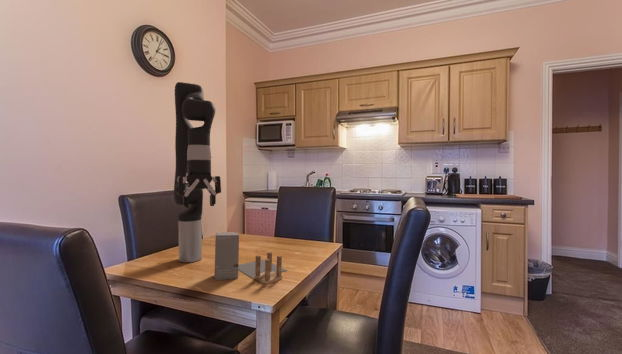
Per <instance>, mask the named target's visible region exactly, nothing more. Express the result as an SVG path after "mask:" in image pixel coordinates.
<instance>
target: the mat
mask: <svg viewBox="0 0 622 354" xmlns="http://www.w3.org/2000/svg"><path fill="white" fill-rule="evenodd" d="M265 260H266V259H261V262H260V273H263V272H265ZM255 266H256V260H254V261H250V262H244V263H240V264H238V272H241V273H243V274H244V275H245V276H248V277H249V278H251V279H253V280H255V279H254V275H255ZM287 271H288V270H287V269H285V268H283V267H281V273H284V272H287ZM272 272H275V273H276V272H277V264H275V263H272Z"/></svg>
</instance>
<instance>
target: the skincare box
mask: <svg viewBox="0 0 622 354" xmlns="http://www.w3.org/2000/svg"><path fill="white" fill-rule="evenodd" d="M239 233H240V232H238V231H237V232H235V231H233V232H232V231H231V232H230V231H228V232H227V231H226V232H215V240H214V241H215V242H214V243H215V244H214V245H215V246H214V247H215V249H214V250H215V252H214V281H216V282H217V281H224V280H233V279H236V280H237V279H239V270H238V265H239V258H240V256H239V255H240V254H239V253H240V234H239Z"/></svg>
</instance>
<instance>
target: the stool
mask: <svg viewBox="0 0 622 354" xmlns="http://www.w3.org/2000/svg"><path fill="white" fill-rule="evenodd" d="M272 259H273V252H271V251H268V252H266V259H264V260H265V272H263V273H260V262H261V260H262V259H261V255H260V254H259V255H255V261H256V266H255V275H254V279H253V280H255V281H258V282H260V283H262V284H264V285H269V284H272V283H274V282H278V281H279V280H283V275H282V272H281V268H283V267H282V262H283V260H282V259H283V256H282V255H280V254H279V255H277V256H276V265H277V272H276V273H275V272H272V264H273V260H272Z"/></svg>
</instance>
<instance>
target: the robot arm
mask: <svg viewBox="0 0 622 354" xmlns="http://www.w3.org/2000/svg"><path fill="white" fill-rule="evenodd" d="M204 96H205V95H204V90H203V88H202V86H201V85H199V84H197V83H196V84H195V83H188V82H183V81H182V82H181V81H178V82H176V83H175V87H174V105H175V108H174V109H175V136H174V138H175V139H174V140H175V144H174V147H175V148H174V149H175V151H174V152H175V170H174V171H175V172H174V185H173V199H174V202H175V203H176V205H178V206H183V207H184V208H185V209H186V210H184V211H182V212H180V213H179V214H178V215H177V216H178V217H177V219H178V221H177V222H178V223H177V224H178V262H181V263H193V262H198V261H201V260H202V258H203V257H202V256H203V255H202V254H203V251H202V250H203V248H202V247H203V245H202V244H203V241H202V240H203V238H202V237H203V236H202V230H203V229H202V215H203V201H204V191H203V190H206V191H207V192H208V193H209V194H210V195H209V205H210V207H214V206H215V205H216V203H217V202H216V201H217V198H216V196H217V195H218V194H220V193H222V185H221V181H222V180H221V176H220V175H214V176H212V152H211V129H212V125H213V122H214V118H215V116H216V107H215V103H213V102H212V101H210V100H205V97H204ZM190 121H195V122H203V124H202V125H200V126H198V127H197V126H196V127H194V126H193V125H192V124H191V122H190ZM211 182H213V183H214V187H213V186H212V185H211Z"/></svg>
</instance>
